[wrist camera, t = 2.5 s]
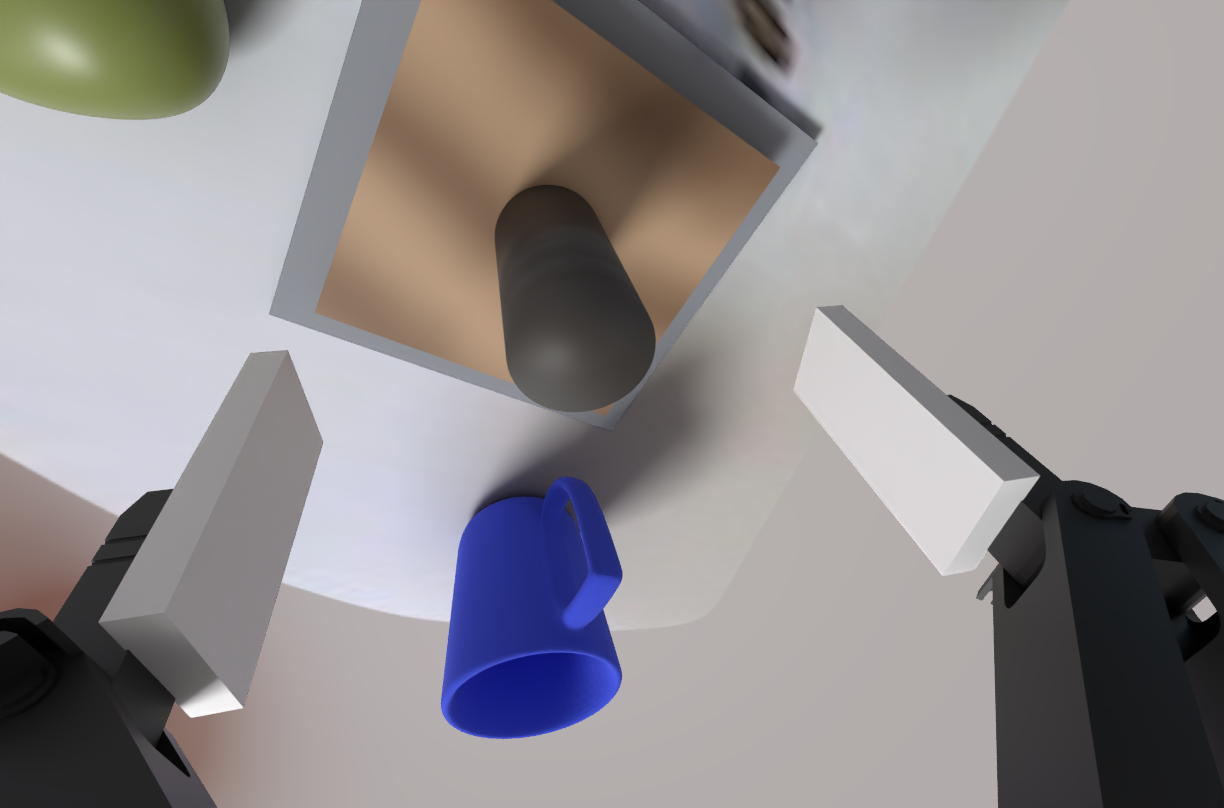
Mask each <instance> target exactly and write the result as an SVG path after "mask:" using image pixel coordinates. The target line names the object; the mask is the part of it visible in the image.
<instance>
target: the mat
mask: <svg viewBox="0 0 1224 808" xmlns="http://www.w3.org/2000/svg"><path fill="white" fill-rule="evenodd" d="M552 1H553V2H555V3H556V4H557V5H559V6H560V7H562V8H563V9H564V10H566V11H567V12H568V13H570V14H571V15H573V16H574V17H575V18H577V19H578V20H579V21H581V22H582V23H583V24H585V25H586V26H588V27H589V28H590V29H592V30H593V31H594V32H596V33H597V34H599V35H600V36H601V37H603V38H604V39H605V40H607V41H608V42H609V43H611V44H612V45H614V46H615V47H616V48H618V49H619V50H620V51H622V52H623V53H625V54H626V55H627V56H629V57H630V58H631V59H633V60H634V61H635V62H637V63H638V64H640V65H641V66H642V67H644V68H645V69H646V70H648V71H649V72H651V73H652V74H653V75H655V76H656V77H657V78H659V79H660V80H662V81H663V82H664V83H666V84H667V85H668V86H670V87H671V88H672V89H674V90H675V91H677V92H678V93H679V94H681V95H682V96H683V97H685V98H686V99H688V100H689V101H690V102H692V103H693V104H694V105H696V106H697V107H698V108H700V109H701V110H703V111H704V112H705V113H707V114H708V115H709V116H711V117H712V118H714V119H715V120H716V121H718V122H719V123H720V124H722V125H723V126H724V127H726V128H727V129H729V130H730V131H731V132H733V133H734V134H735V135H737V136H738V137H740V138H741V139H742V140H744V141H745V142H746V143H748V144H749V145H751V146H752V147H753V148H755V149H756V150H757V151H759V152H760V153H761V154H763V155H764V156H766V157H767V158H768V159H770V160H771V161H772V162H774V163H775V164H777V165H778V166H779V167H780V169H779V170H778V172H777V173H776V175H775V176H774V177H773V179H772V180H771V182H770V183H769V184H768V186H767V187H766V189H765V190H764V192H763V193H762V194H761V196H760V197H759V199H758V200H757V202H756V203H755V204H754V206H753V207H752V209H751V210H750V211H749V213H748V214H747V216H746V217H745V219H744V220H743V221H742V223H741V224H740V226H739V227H738V229H737V230H736V231H735V233H734V234H733V236H732V237H731V238H730V240H729V241H728V243H727V244H726V246H725V247H724V248H723V250H722V251H721V253H720V254H719V256H718V257H717V258H716V260H715V261H714V263H713V264H712V265H711V267H710V268H709V270H708V271H707V273H706V274H705V275H704V277H703V278H702V280H701V281H700V283H699V284H698V285H697V287H696V288H695V290H694V291H693V292H692V294H691V295H690V297H689V298H688V300H687V301H686V302H685V304H684V305H683V307H682V308H681V310H680V311H679V312H678V314H677V315H676V317H675V318H674V319H673V321H672V322H671V324H670V325H669V327H668V328H667V329H666V331H665V332H664V334H663V335H662V337H661V338H660V339H659V341H658V342H657V344H656V348H655V354H654V358H653V361H652V364H651V366H650V368H649V370H648V372H647V373H646V375H645V377H644V378H643V379H642V381H641V382H640V383H639V384H638V385H637V386H636V387H635V388H634V389H633V390H632V391H631V392H630V393H628V394H627V395H626V396H625V397H623V398H621V399H620V400H618V401H616V402H615V403H614V405H613V406H612V408H611V409H610V410H609V412H608V413H607V415H606V416H604V415H601V414H598V413H595V412H592V411H586V412H562V411H556V410H552V409H549V408H546V407H544V406H541V405H539V404H537V403H535V402H534V401H532V400H531V399H529V398H528V397H527V396H525V395H524V394H523V393H522V392H521V391H520V390H519V388H518V387H517V386H516V384H514V383H511V382H508V381H505V380H502V379H499V378H497V377H494V376H491V375H488V374H485V373H483V372H480V371H477V370H474V369H471V368H469V367H466V366H463V365H460V364H457V363H454V362H452V361H449V360H446V359H443V358H440V357H438V356H435V355H432V354H429V353H426V352H424V351H421V350H418V349H415V348H412V347H409V346H407V345H404V344H401V343H398V342H395V341H393V340H390V339H387V338H384V337H381V336H379V335H376V334H373V333H370V332H367V331H364V330H362V329H359V328H356V327H353V326H350V325H348V324H345V323H342V322H339V321H336V320H334V319H331V318H328V317H325V316H322V315H319V314H317V313H314V312H315V310H316V307H317V304H318V301H319V298H320V295H321V292H322V289H323V286H324V283H325V280H326V277H327V274H328V272H329V269H330V266H331V263H332V260H333V257H334V254H335V251H336V248H337V245H338V242H339V239H340V236H341V233H342V231H343V228H344V225H345V222H346V219H347V216H348V213H349V210H350V207H351V204H352V201H353V198H354V195H355V193H356V190H357V187H358V184H359V181H360V178H361V175H362V172H363V169H364V166H365V163H366V160H367V157H368V155H369V152H370V149H371V146H372V143H373V140H374V137H375V134H376V131H377V128H378V125H379V122H380V119H381V117H382V114H383V111H384V108H385V105H386V102H387V99H388V96H389V93H390V90H391V87H392V84H393V81H394V79H395V76H396V73H397V70H398V67H399V64H400V61H401V58H402V55H403V52H404V49H405V46H406V43H407V40H408V38H409V35H410V32H411V29H412V26H413V23H414V20H415V17H416V14H417V11H418V8H419V5H420V2H421V0H362V3H361V6H360V10H359V13H358V16H357V20H356V23H355V26H354V30H353V33H352V37H351V40H350V43H349V47H348V50H347V53H346V57H345V60H344V63H343V67H342V70H341V74H340V77H339V80H338V84H337V87H336V90H335V94H334V97H333V100H332V104H331V107H330V111H329V114H328V117H327V121H326V124H325V127H324V131H323V134H322V137H321V141H320V144H319V148H318V151H317V154H316V158H315V161H314V164H313V168H312V171H311V174H310V178H309V181H308V185H307V188H306V191H305V195H304V198H303V201H302V205H301V208H300V212H299V215H298V218H297V222H296V225H295V228H294V232H293V235H292V238H291V242H290V245H289V249H288V252H287V255H286V259H285V262H284V265H283V269H282V272H281V275H280V279H279V282H278V286H277V289H276V292H275V296H274V299H273V302H272V306H271V309H270V312H269V315H272V316H275V317H278V318H281V319H284V320H287V321H290V322H293V323H296V324H299V325H302V326H305V327H307V328H310V329H313V330H316V331H319V332H322V333H325V334H328V335H331V336H334V337H337V338H340V339H343V340H345V341H348V342H351V343H354V344H357V345H360V346H363V347H366V348H369V349H372V350H375V351H378V352H381V353H383V354H386V355H389V356H392V357H395V358H398V359H401V360H404V361H407V362H410V363H413V364H416V365H418V366H421V367H424V368H427V369H430V370H433V371H436V372H439V373H442V374H445V375H448V376H451V377H454V378H456V379H459V380H462V381H465V382H468V383H471V384H474V385H477V386H480V387H483V388H486V389H489V390H492V391H494V392H497V393H500V394H503V395H506V396H509V397H512V398H515V399H518V400H521V401H524V402H527V403H530V404H532V405H535V406H538V407H541V408H544V409H547V410H550V411H553V412H556V413H559V414H562V415H565V416H567V417H570V418H573V419H576V420H579V421H582V422H585V423H588V424H591V425H594V426H597V427H600V428H603V429H605V430H608V431H611V430H612V428H613V427H614V426H615V424H616V423H617V421H618V420H619V419H620V417H621V416H622V415H623V413H624V412H625V410H626V409H627V408H628V406H629V405H630V403H631V402H632V401H633V399H634V398H635V396H636V395H637V394H638V392H639V391H640V390H641V388H642V387H643V385H644V384H645V383H646V381H647V380H648V378H649V377H650V376H651V374H652V373H653V372H654V370H655V369H656V367H657V366H658V365H659V363H660V362H661V360H662V359H663V358H664V356H665V355H666V354H667V352H668V351H669V349H670V348H671V347H672V345H673V344H674V342H675V341H676V340H677V338H678V337H679V335H680V334H681V333H682V331H683V330H684V329H685V327H686V326H687V324H688V323H689V322H690V320H691V319H692V317H693V316H694V315H695V313H696V312H697V311H698V309H699V308H700V306H701V305H702V304H703V302H704V301H705V299H706V298H707V297H708V295H709V294H710V293H711V291H712V290H713V288H714V287H715V286H716V284H717V283H718V281H719V280H720V279H721V277H722V276H723V274H724V273H725V272H726V270H727V269H728V268H729V266H730V265H731V263H732V262H733V261H734V259H735V258H736V256H737V255H738V254H739V252H740V251H741V250H742V248H743V247H744V245H745V244H746V243H747V241H748V240H749V238H750V237H751V236H752V234H753V233H754V232H755V230H756V229H757V227H758V226H759V225H760V223H761V222H762V220H763V219H764V218H765V216H766V215H767V213H768V212H769V211H770V209H771V208H772V207H773V205H774V204H775V202H776V201H777V200H778V198H779V197H780V195H781V194H782V193H783V191H784V190H785V189H786V187H787V186H788V184H789V183H790V182H791V180H792V179H793V177H794V176H795V175H796V173H797V172H798V171H799V169H800V168H801V166H802V165H803V164H804V162H805V161H806V159H807V158H808V157H809V155H810V154H811V152H812V151H813V150H814V148H815V147H816V146H817V144H818V143H817V142H816V141H815V140H813V139H812V138H811V137H810V136H808V135H807V134H806V133H805V132H803V131H802V130H801V129H800V128H798V127H797V126H796V125H795V124H793V123H792V122H791V121H790V120H788V119H787V118H786V117H784V116H783V115H782V114H781V113H779V112H778V111H777V110H776V109H774V108H773V107H772V106H771V105H769V104H768V103H767V102H766V101H764V100H763V99H762V98H761V97H759V96H758V95H757V94H756V93H754V92H753V91H752V90H751V89H749V88H748V87H747V86H746V85H744V84H743V83H742V82H740V81H739V80H738V79H737V78H735V77H734V76H733V75H732V74H730V73H729V72H728V71H727V70H725V69H724V68H723V67H722V66H720V65H719V64H718V63H717V62H715V61H714V60H713V59H712V58H710V57H709V56H708V55H707V54H705V53H704V52H703V51H702V50H700V49H699V48H698V47H696V46H695V45H694V44H693V43H691V42H690V41H689V40H688V39H686V38H685V37H684V36H683V35H681V34H680V33H679V32H678V31H676V30H675V29H674V28H673V27H671V26H670V25H669V24H668V23H666V22H665V21H664V20H663V19H661V18H660V17H659V16H658V15H656V14H655V13H654V12H652V11H651V10H650V9H649V8H647V7H646V6H645V5H644V4H642V3H641V2H640V1H639V0H552Z"/></svg>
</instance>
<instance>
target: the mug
mask: <svg viewBox="0 0 1224 808" xmlns="http://www.w3.org/2000/svg"><path fill="white" fill-rule="evenodd" d="M569 498H570V499H571V502H572V505H573V508H574V511H575V514H576V517H577V521H578V525H579V528H580V531H579V529H578V527H577V525H576V523H575V521H574V519H573V518H572V517H571V515H570V514H569V513H568V512H567V511H566V510H565V509H564V508H565V505H566V503H567V501H568V500H569ZM580 532H581V534H580ZM581 536H582V538H581ZM582 540H583V541H582ZM621 580H622V569H621V565H620V562H619V559H618V556H617V553H616V550H615V546H614V543H613V540H612V537H611V534H610V532H609V529H608V526H607V523H606V521H605V518H604V515H603V513H602V510H601V508H600V506H599V503H598V501H597V499H596V497H595V495H594V494H593V492H592V491H591V489H590V487H589V486H588V485H587V484H586V483H585V482H583V481H582V480H579V479H577V478H573V477H560V478H559V479H557V480H555V481H554V483H553V484H552V485H551V487H550V488H549V490H548V492H547V494H546V496H545V499H542V498H538V497H514V498H508V499H504V500H501V501H498V502H496V503H493V504H491V505H489V506H487V507H486V508H484V509H483V510H481V511H480V512H479V513H477V514H476V515H475V516H474V517H473V518H472V520H471V521H470V522H469V523H468V525H467V526H466V528H465V530H464V532H463V535H462V537H461V541H460V544H459V549H458V558H457V566H456V575H455V584H454V593H453V601H452V610H451V619H450V628H449V636H448V645H447V654H446V663H445V671H444V680H443V689H442V698H441V709H442V713H443V715H444V717H445V719H446V720H447V721H448V723H449V724H450V725H452V726H453V727H455V728H456V729H458V730H460V731H461V732H465V733H467V734H470V735H474V736H478V737H484V738H497V739H510V738H523V737H530V736H536V735H541V734H545V733H549V732H553V731H556V730H559V729H562V728H566V727H568V726H570V725H573V724H575V723H578V722H580V721H582V720H584V719H586V718H587V717H589V716H591V715H593V714H595V713H596V712H597V711H599V710H600V709H601V708H603V707H604V706H605V705H606V704H608V703H609V701H610V700H611V699H612V698H613V697H614V696H615V694H616V693H617V691H618V689H619V687H620V684H621V680H622V672H621V667H620V664H619V661H618V657H617V654H616V651H615V647H614V644H613V641H612V637H611V634H610V631H609V627H608V624H607V621H606V617H605V614H604V611H603V608H604V607H605V606H606V604H607V603H608V601H609V600H610V599H611V597H612V596H613V594H614V593H615V591H616V589H617V588H618V586H619V585H620V583H621Z"/></svg>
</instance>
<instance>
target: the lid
mask: <svg viewBox="0 0 1224 808" xmlns="http://www.w3.org/2000/svg"><path fill="white" fill-rule="evenodd" d="M779 169H780V167H779V166H778V165H777V164H775V163H774V162H772V161H771V160H770V159H768V158H767V157H766V156H764V155H763V154H761V153H760V152H759V151H757V150H756V149H755V148H753V147H752V146H751V145H749V144H748V143H746V142H745V141H744V140H742V139H741V138H740V137H738V136H737V135H735V134H734V133H733V132H731V131H730V130H729V129H727V128H726V127H724V126H723V125H722V124H720V123H719V122H718V121H716V120H715V119H714V118H712V117H711V116H709V115H708V114H707V113H705V112H704V111H703V110H701V109H700V108H698V107H697V106H696V105H694V104H693V103H692V102H690V101H689V100H688V99H686V98H685V97H683V96H682V95H681V94H679V93H678V92H677V91H675V90H674V89H672V88H671V87H670V86H668V85H667V84H666V83H664V82H663V81H662V80H660V79H659V78H657V77H656V76H655V75H653V74H652V73H651V72H649V71H648V70H646V69H645V68H644V67H642V66H641V65H640V64H638V63H637V62H635V61H634V60H633V59H631V58H630V57H629V56H627V55H626V54H625V53H623V52H622V51H620V50H619V49H618V48H616V47H615V46H614V45H612V44H611V43H609V42H608V41H607V40H605V39H604V38H603V37H601V36H600V35H599V34H597V33H596V32H594V31H593V30H592V29H590V28H589V27H588V26H586V25H585V24H583V23H582V22H581V21H579V20H578V19H577V18H575V17H574V16H573V15H571V14H570V13H568V12H567V11H566V10H564V9H563V8H562V7H560V6H559V5H557V4H556V3H555V2H553V1H552V0H421V2H420V5H419V8H418V11H417V14H416V17H415V20H414V23H413V26H412V29H411V32H410V35H409V38H408V40H407V43H406V46H405V49H404V52H403V55H402V58H401V61H400V64H399V67H398V70H397V73H396V76H395V79H394V81H393V84H392V87H391V90H390V93H389V96H388V99H387V102H386V105H385V108H384V111H383V114H382V117H381V119H380V122H379V125H378V128H377V131H376V134H375V137H374V140H373V143H372V146H371V149H370V152H369V155H368V157H367V160H366V163H365V166H364V169H363V172H362V175H361V178H360V181H359V184H358V187H357V190H356V193H355V195H354V198H353V201H352V204H351V207H350V210H349V213H348V216H347V219H346V222H345V225H344V228H343V231H342V233H341V236H340V239H339V242H338V245H337V248H336V251H335V254H334V257H333V260H332V263H331V266H330V269H329V272H328V274H327V277H326V280H325V283H324V286H323V289H322V292H321V295H320V298H319V301H318V304H317V307H316V310H315V312H314V313H317V314H319V315H322V316H325V317H328V318H331V319H334V320H336V321H339V322H342V323H345V324H348V325H350V326H353V327H356V328H359V329H362V330H364V331H367V332H370V333H373V334H376V335H379V336H381V337H384V338H387V339H390V340H393V341H395V342H398V343H401V344H404V345H407V346H409V347H412V348H415V349H418V350H421V351H424V352H426V353H429V354H432V355H435V356H438V357H440V358H443V359H446V360H449V361H452V362H454V363H457V364H460V365H463V366H466V367H469V368H471V369H474V370H477V371H480V372H483V373H485V374H488V375H491V376H494V377H497V378H499V379H502V380H505V381H508V382H511V383H514V384H516V386H517V387H518V388H519V390H520V391H521V392H522V393H523V394H524V395H525V396H527V397H528V398H529V399H531V400H532V401H534V402H535V403H537V404H539V405H541V406H544V407H546V408H549V409H552V410H556V411H562V412H586V411H592V412H595V413H598V414H601V415H604V416H606V415H607V413H608V412H609V410H610V409H611V408H612V406H613V405H614V403H615V402H616V401H618V400H620V399H621V398H623V397H625V396H626V395H627V394H628V393H630V392H631V391H632V390H633V389H634V388H635V387H636V386H637V385H638V384H639V383H640V382H641V381H642V379H643V378H644V377H645V375H646V373H647V372H648V370H649V368H650V366H651V364H652V361H653V358H654V354H655V348H656V344H657V342H658V341H659V339H660V338H661V337H662V335H663V334H664V332H665V331H666V329H667V328H668V327H669V325H670V324H671V322H672V321H673V319H674V318H675V317H676V315H677V314H678V312H679V311H680V310H681V308H682V307H683V305H684V304H685V302H686V301H687V300H688V298H689V297H690V295H691V294H692V292H693V291H694V290H695V288H696V287H697V285H698V284H699V283H700V281H701V280H702V278H703V277H704V275H705V274H706V273H707V271H708V270H709V268H710V267H711V265H712V264H713V263H714V261H715V260H716V258H717V257H718V256H719V254H720V253H721V251H722V250H723V248H724V247H725V246H726V244H727V243H728V241H729V240H730V238H731V237H732V236H733V234H734V233H735V231H736V230H737V229H738V227H739V226H740V224H741V223H742V221H743V220H744V219H745V217H746V216H747V214H748V213H749V211H750V210H751V209H752V207H753V206H754V204H755V203H756V202H757V200H758V199H759V197H760V196H761V194H762V193H763V192H764V190H765V189H766V187H767V186H768V184H769V183H770V182H771V180H772V179H773V177H774V176H775V175H776V173H777V172H778V170H779Z"/></svg>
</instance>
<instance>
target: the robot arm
mask: <svg viewBox="0 0 1224 808" xmlns="http://www.w3.org/2000/svg"><path fill="white" fill-rule="evenodd" d="M793 391H794V392H795V393H796V394H797V395H798V397H799V398H800V399H801V400H802V402H803V403H804V404H805V405H806V407H807V408H808V409H809V410H810V412H811V413H812V414H813V415H814V417H815V418H816V419H817V420H818V422H819V423H820V424H821V425H822V427H823V428H824V429H825V430H826V432H827V433H828V434H829V435H830V437H831V438H832V439H833V440H834V442H835V443H836V444H837V445H838V446H839V448H840V449H841V450H842V451H843V453H844V454H845V455H846V456H847V458H848V459H849V460H850V461H851V463H852V464H853V465H854V466H855V468H856V469H857V470H858V471H859V473H860V474H861V475H862V476H863V478H864V479H865V480H866V481H867V482H868V484H869V485H870V486H871V488H872V489H873V490H874V491H875V492H876V494H877V495H878V496H879V497H880V499H881V500H882V501H883V502H884V504H885V505H886V506H887V507H888V509H889V510H890V511H891V512H892V514H893V515H894V516H895V517H896V519H897V520H898V521H899V522H900V524H901V525H902V526H903V527H904V529H905V530H906V531H907V532H908V533H909V535H910V536H911V537H912V539H913V540H914V541H915V542H916V543H917V544H918V546H919V547H920V549H921V550H922V551H923V552H924V553H925V555H926V556H927V557H928V558H929V559H930V561H931V562H932V563H933V565H934V566H935V567H936V568H937V570H938V571H939V572H940V573H941V574H942V576H946V575H951V574H956V573H961V572H967V571H972V570H975V568H976V567H977V566H978V564H979V563H980V561H981V560H982V558H983V557H984V555H985V554H986V553H987V551H989V552H990V553H991V555H992V556H993V557H994V558H995V559H996V560H997V561H998V562H999V564H998V565H997V566H996V568H995V569H994V571H993V572H992V573H991V575H990V576H989V578H988V579H987V580H986V582H985V583H984V584H983V585H982V587H981V588H980V590H979V591H978V594H977V597H976V598H977V599H979V600H983V599H984V597H985V596H986V595H987V593H988V592H989V591H992V590H993V601H992V602H991V604H992V605H993V622H994V623H993V624H994V663H995V702H996V740H997V779H998V808H1224V500H1221V499H1218V498H1215V497H1210V496H1207V495H1203V494H1199V493H1182V494H1179V495H1176V496H1175V497H1174V498H1173V499H1172V500H1171V502H1170V503H1169V504H1168V505H1167V506H1166V507H1165V508H1164V509H1163V510H1153V509H1144V508H1136V507H1131V506H1129V505H1128V504H1127V503H1126V502H1125V501H1124V500H1123V499H1122V498H1120V497H1118V496H1117V495H1115V494H1113V493H1112V492H1110V491H1108V490H1107V489H1104V488H1102V487H1099V486H1096V485H1094V484H1091V483H1087V482H1082V481H1077V480H1071V481H1061V480H1060V479H1059V478H1058V477H1057V476H1056V475H1054V474H1053V473H1052V472H1051V471H1050V470H1049V469H1047V468H1046V467H1045V466H1044V465H1042V464H1041V463H1040V462H1039V461H1038V460H1036V459H1035V458H1034V457H1033V456H1032V455H1031V454H1029V453H1028V452H1027V451H1026V450H1024V449H1023V448H1022V447H1021V446H1020V445H1019V444H1017V443H1016V442H1015V441H1014V440H1013V439H1011V438H1010V437H1006V434H1005V433H1004V432H1003V431H1002V430H1001V429H999V428H998V427H997V426H996V425H992V424H991V421H990V420H989V419H988V418H986V417H985V416H984V415H983V414H982V413H980V412H979V411H978V410H977V409H976V408H974V407H973V406H971V405H969V404H967V403H965V402H964V401H961V400H960V399H958V398H956V397H954V396H952V395H946V394H945V393H944V392H942V391H941V390H940V389H939V388H937V387H936V386H935V385H934V384H933V383H932V382H931V381H930V380H928V379H927V378H926V377H925V376H924V375H923V374H921V373H920V372H919V371H918V370H917V369H915V368H914V367H913V366H912V365H911V364H910V363H909V362H907V361H906V360H905V359H904V358H903V357H902V356H901V355H899V354H898V353H897V352H896V351H895V350H894V349H892V348H891V347H890V346H889V345H888V344H886V343H885V342H884V341H883V340H882V339H881V338H879V337H878V336H877V335H876V334H875V333H874V332H873V331H871V330H870V329H869V328H868V327H867V326H866V325H864V324H863V323H862V322H861V321H860V320H859V319H858V318H856V317H855V316H854V315H853V314H852V313H851V312H849V311H848V310H847V309H846V308H845V307H844V306H842V305H839V306H827V307H816V311H815V315H814V318H813V322H812V325H811V329H810V332H809V336H808V339H807V343H806V347H805V350H804V354H803V357H802V361H801V364H800V368H799V371H798V375H797V378H796V382H795V386H794V389H793ZM322 445H323V440H322V437H321V435H320V432H319V430H318V427H317V424H316V422H315V419H314V417H313V414H312V412H311V409H310V406H309V404H308V401H307V399H306V396H305V393H304V391H303V388H302V386H301V383H300V380H299V378H298V375H297V373H296V370H295V367H294V365H293V362H292V360H291V357H290V355H289V352H288V350H283V351H271V352H259V353H250V355H249V357H248V359H247V360H246V362H245V364H244V366H243V367H242V369H241V371H240V373H239V374H238V376H237V378H236V380H235V381H234V383H233V385H232V387H231V389H230V390H229V392H228V394H227V396H226V397H225V399H224V401H223V403H222V404H221V406H220V408H219V410H218V412H217V413H216V415H215V417H214V419H213V420H212V422H211V424H210V426H209V427H208V429H207V431H206V433H205V435H204V436H203V438H202V440H201V442H200V443H199V445H198V447H197V449H196V450H195V452H194V454H193V456H192V458H191V459H190V461H189V463H188V465H187V466H186V468H185V470H184V472H183V473H182V475H181V477H180V479H179V481H178V482H177V484H176V486H175V488H174V489H168V490H160V491H151V492H147V493H146V494H144V495H143V496H142V497H141V498H140V499H139V500H138V501H136V502H135V503H134V504H133V505H132V506H131V507H129V508H128V509H127V510H126V511H125V512H124V513H123V514H121V515H120V517H119V518H118V520H117V522H116V523H115V525H114V526H113V528H112V529H111V531H110V533H109V534H108V536H107V537H106V539H105V545H101V547H100V548H99V550H98V552H97V553H96V555H95V556H94V558H93V559H92V566H88V567H87V569H86V570H85V572H84V574H83V575H82V577H81V578H80V580H79V581H78V583H77V585H76V586H75V588H74V589H73V591H72V592H71V594H70V595H69V597H68V599H67V600H66V602H65V603H64V605H63V606H62V608H61V610H60V611H59V613H58V614H57V616H56V617H55V619H54V621H53V622H52V621H51V620H49V618H47V617H46V616H45V615H43V614H42V613H41V612H40V611H38V610H34V609H21V608H17V609H12V610H8V611H3V612H0V808H217V806H216V805H215V803H214V801H213V800H212V798H211V797H210V795H209V793H208V792H207V790H206V789H205V787H204V785H203V784H202V782H201V781H200V779H199V777H198V776H197V774H196V772H195V771H194V769H193V768H192V766H191V764H190V763H189V761H188V759H187V758H186V756H185V755H184V753H183V752H182V750H181V748H180V747H179V745H178V743H177V742H176V740H175V738H174V737H173V735H172V734H171V733H170V732H169V731H168V730H166V728H165V724H166V722H167V719H168V717H169V714H170V712H171V709H172V707H173V704H174V702H176V703H177V704H178V705H179V706H180V707H181V708H182V709H183V710H184V711H185V712H186V713H187V714H188V715H189V716H190V717H191V718H193V717H198V716H203V715H208V714H214V713H219V712H225V711H230V710H235V709H240V708H244V705H245V701H246V698H247V695H248V691H249V688H250V684H251V681H252V678H253V675H254V671H255V668H256V665H257V661H258V658H259V655H260V651H261V648H262V644H263V641H264V638H265V635H266V631H267V628H268V625H269V621H270V618H271V615H272V611H273V608H274V605H275V601H276V598H277V595H278V591H279V588H280V585H281V581H282V578H283V575H284V571H285V568H286V565H287V561H288V558H289V555H290V551H291V548H292V545H293V541H294V538H295V535H296V531H297V528H298V525H299V521H300V518H301V515H302V511H303V508H304V505H305V501H306V498H307V495H308V491H309V488H310V485H311V481H312V478H313V475H314V471H315V468H316V465H317V461H318V458H319V455H320V451H321V448H322ZM1206 596H1207V597H1208V598H1209V599H1210V601H1211V602H1212V604H1213V605H1214V607H1215V608H1216V610H1217V612H1216V613H1215V614H1213V615H1212V616H1211V617H1210V618H1209V619H1207V620H1205V621H1204V622H1202V621H1201V620H1200V619H1199V618H1198V617H1197V615H1196V614H1195V612H1194V611H1193V610H1192V608H1193V607H1194V606H1195V605H1197V604H1198V603H1199V602H1200V601H1201V600H1202V599H1204V598H1205V597H1206Z"/></svg>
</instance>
